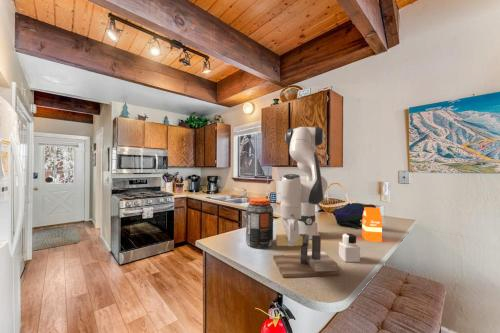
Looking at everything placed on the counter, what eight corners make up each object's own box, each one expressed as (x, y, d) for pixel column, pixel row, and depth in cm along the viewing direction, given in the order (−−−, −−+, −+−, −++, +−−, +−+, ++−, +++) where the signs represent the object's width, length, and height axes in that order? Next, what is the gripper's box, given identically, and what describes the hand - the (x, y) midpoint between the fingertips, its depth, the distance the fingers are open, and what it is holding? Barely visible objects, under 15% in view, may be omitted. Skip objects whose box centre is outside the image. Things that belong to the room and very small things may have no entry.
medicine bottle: (352, 256, 109) (352, 232, 109) (360, 262, 101) (360, 237, 102) (338, 256, 108) (338, 232, 108) (345, 262, 101) (345, 236, 101)
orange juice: (381, 242, 130) (382, 209, 130) (366, 240, 132) (366, 208, 132) (376, 237, 138) (377, 206, 138) (362, 236, 140) (362, 206, 140)
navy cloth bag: (339, 234, 173) (381, 229, 162) (334, 229, 153) (382, 222, 141) (333, 209, 183) (372, 203, 171) (328, 201, 162) (372, 193, 151)
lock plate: (273, 258, 104) (273, 228, 104) (320, 257, 107) (321, 228, 107) (282, 277, 86) (283, 241, 86) (339, 275, 89) (340, 240, 89)
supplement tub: (256, 237, 135) (257, 196, 135) (278, 243, 125) (278, 199, 125) (239, 244, 122) (240, 199, 123) (262, 251, 113) (262, 202, 113)
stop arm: (306, 242, 99) (306, 233, 99) (310, 245, 95) (310, 236, 95) (275, 243, 97) (275, 234, 97) (277, 246, 93) (278, 237, 93)
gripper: (303, 218, 81) (302, 255, 81) (294, 208, 101) (293, 237, 101) (286, 218, 81) (285, 254, 81) (280, 207, 101) (280, 236, 101)
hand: (290, 245), depth 91 cm, fingers closed
